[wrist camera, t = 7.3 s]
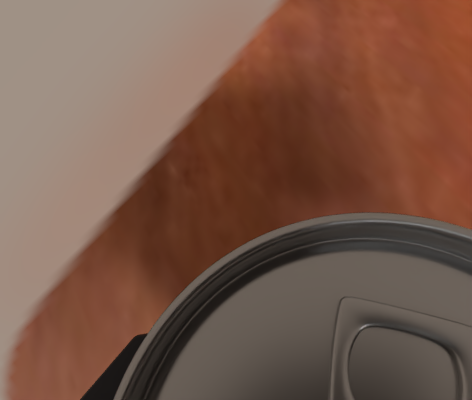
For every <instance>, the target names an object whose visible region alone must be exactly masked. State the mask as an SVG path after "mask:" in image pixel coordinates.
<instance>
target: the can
mask: <svg viewBox="0 0 472 400" xmlns="http://www.w3.org/2000/svg"><path fill="white" fill-rule="evenodd" d="M114 400H472V230H471V229H468V228H465V227H461V226H458V225H455V224H451V223H447V222H444V221H439V220H435V219H430V218H425V217H419V216H413V215H405V214H396V213H380V212H362V213H345V214H336V215H328V216H323V217H317V218H313V219H308V220H304V221H300V222H297V223H293V224H290V225H287V226H284V227H281V228H278V229H276V230H273V231H271V232H268V233H266V234H264V235H261V236H259V237H257V238H255V239H253V240H251V241H249V242H247V243H245V244H243V245H242V246H240V247H238V248H236V249H235V250H233V251H232V252H230V253H228V254H227V255H225V256H224V257H222V258H221V259H219V260H218V261H217V262H215V263H214V264H213V265H211V266H210V267H209V268H207V269H206V270H205V271H204V272H203V273H201V274H200V275H199V276H198V277H197V278H196V279H194V280H193V281H192V282H191V283H190V284H189V285H188V286H187V287H186V288H185V289H184V290H183V291H182V292H181V293H180V294H179V295H178V296H177V297H176V298H175V300H174V301H173V302H172V303H171V304H170V305H169V306H168V308H167V309H166V310H165V311H164V312H163V314H162V315H161V316H160V317H159V319H158V320H157V321H156V323H155V324H154V325H153V327H152V328H151V330H150V331H149V333H148V334H147V336H146V337H145V339H144V340H143V342H142V344H141V345H140V347H139V348H138V350H137V352H136V354H135V355H134V357H133V359H132V361H131V363H130V365H129V367H128V369H127V370H126V372H125V374H124V377H123V379H122V381H121V383H120V385H119V388H118V390H117V392H116V395H115V397H114Z"/></svg>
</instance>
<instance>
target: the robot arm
mask: <svg viewBox="0 0 472 400" xmlns="http://www.w3.org/2000/svg"><path fill="white" fill-rule="evenodd" d="M147 334H148V333H147ZM147 334H141V335H137V336H135V337H134V338H133V339H132V340H131V341H130V342H129V344H128V345H127V346H126V347H125V348H124V349H123V351H122V352H121V353H120V354H119V355H118V356H117V357H116V359H115V360H114V361H113V362H112V363H111V364H110V366H109V367H108V368H107V369H106V370H105V371H104V373H103V374H102V375H101V376H100V377H99V378H98V379H97V381H96V382H95V383H94V384H93V385H92V386H91V388H90V389H89V390H88V391H87V392H86V393H85V395H84V396H83V397H82V398H81V399H80V400H114V397H115V395H116V392H117V390H118V388H119V385H120V383H121V381H122V379H123V377H124V374H125V372H126V370H127V369H128V367H129V365H130V363H131V361H132V359H133V357H134V355H135V354H136V352H137V350H138V348H139V347H140V345H141V344H142V342H143V340H144V339H145V337H146V336H147Z"/></svg>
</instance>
